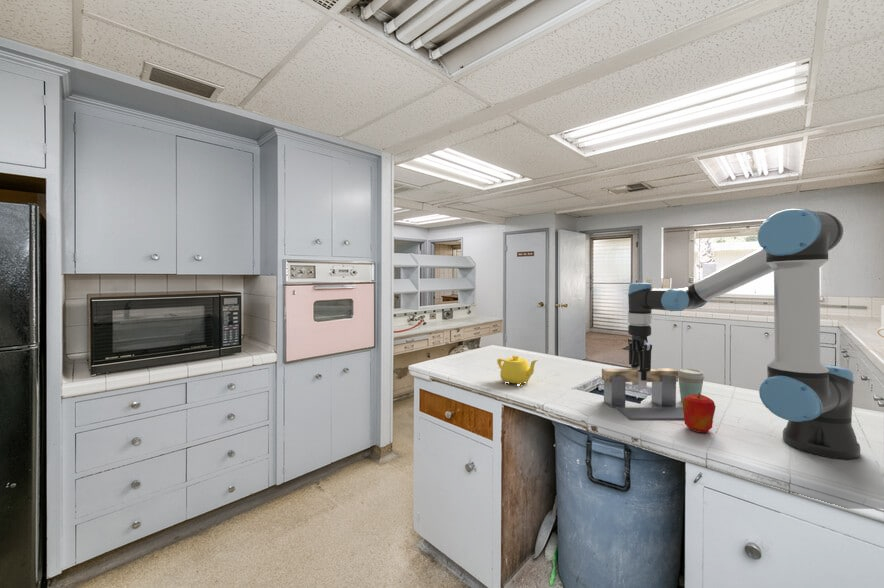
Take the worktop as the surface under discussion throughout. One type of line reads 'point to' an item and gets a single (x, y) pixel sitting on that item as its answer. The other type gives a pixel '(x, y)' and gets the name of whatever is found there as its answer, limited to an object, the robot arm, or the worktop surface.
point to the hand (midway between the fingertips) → (639, 386)
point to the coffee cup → (690, 382)
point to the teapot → (516, 369)
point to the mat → (653, 413)
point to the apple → (698, 412)
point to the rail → (633, 374)
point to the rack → (660, 391)
